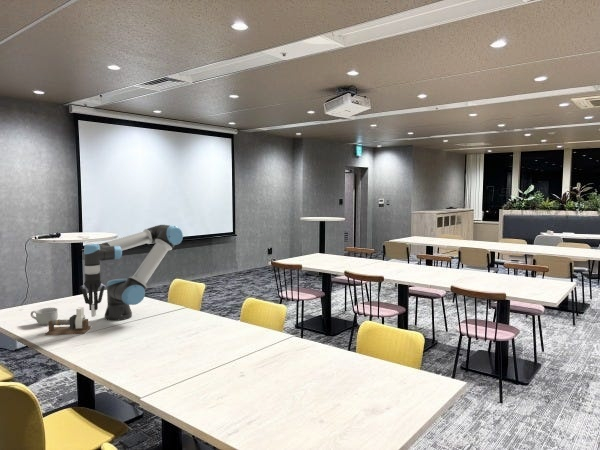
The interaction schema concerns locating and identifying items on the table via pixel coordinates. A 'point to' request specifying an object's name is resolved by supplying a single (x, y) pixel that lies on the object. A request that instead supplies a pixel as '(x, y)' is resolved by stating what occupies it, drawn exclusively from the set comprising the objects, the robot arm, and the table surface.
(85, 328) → the pipe rig
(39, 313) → the teacup
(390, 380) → the table surface
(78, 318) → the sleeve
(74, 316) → the charcoal slab
